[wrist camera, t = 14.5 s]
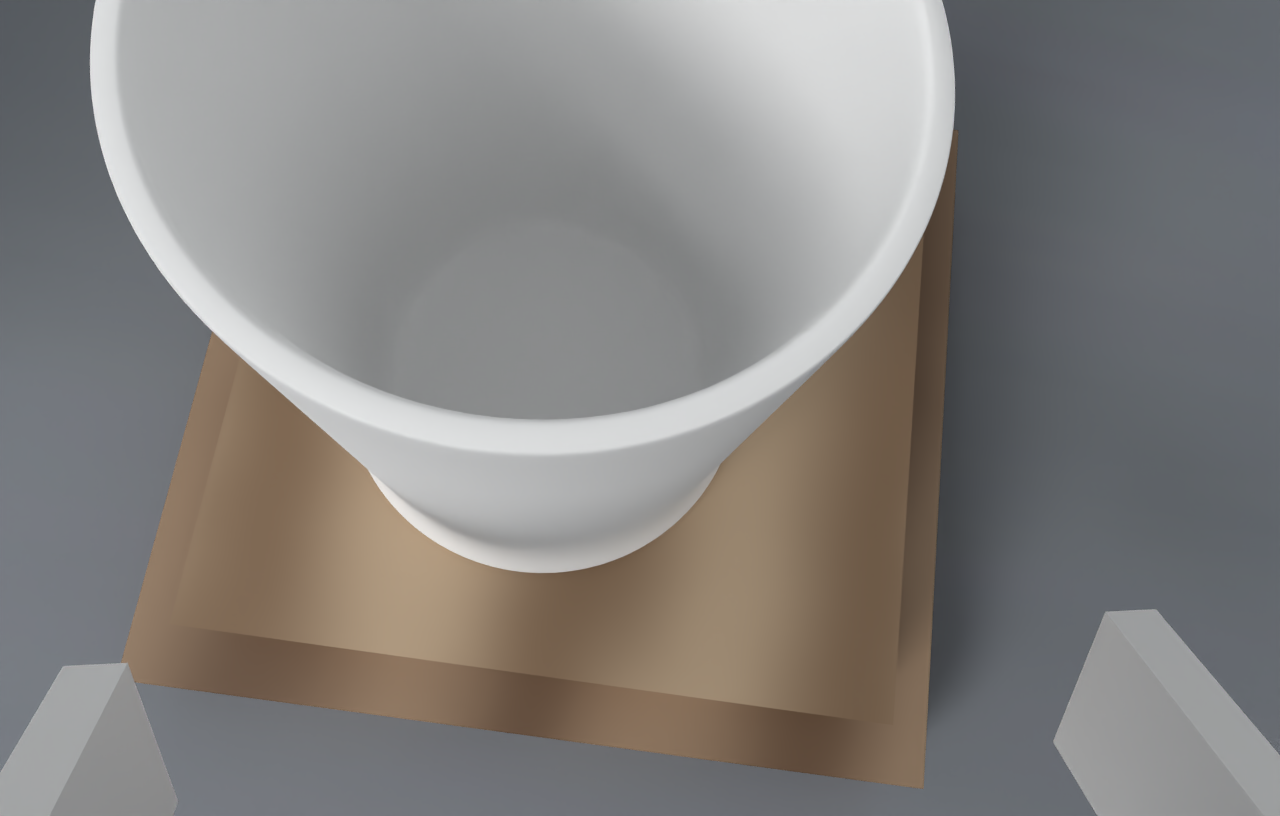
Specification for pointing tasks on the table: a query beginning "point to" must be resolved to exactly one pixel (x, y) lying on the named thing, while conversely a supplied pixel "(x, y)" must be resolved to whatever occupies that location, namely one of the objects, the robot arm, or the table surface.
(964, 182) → the table surface
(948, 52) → the mug
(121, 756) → the robot arm
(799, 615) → the pedestal
